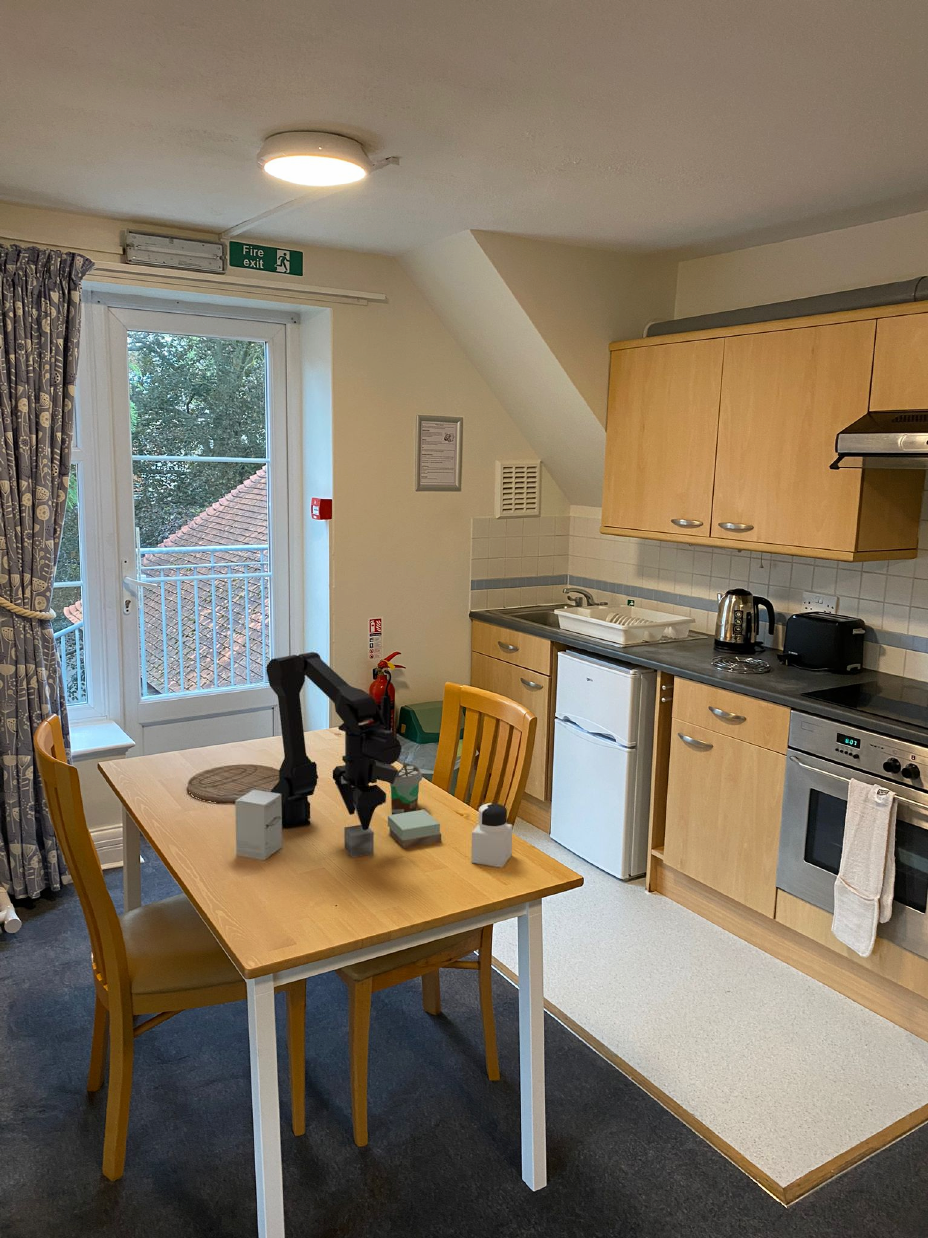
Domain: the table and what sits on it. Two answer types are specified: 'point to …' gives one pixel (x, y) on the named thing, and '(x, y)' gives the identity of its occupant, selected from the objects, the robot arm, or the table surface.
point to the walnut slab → (417, 840)
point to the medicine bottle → (492, 836)
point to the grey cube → (358, 841)
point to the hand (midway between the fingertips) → (358, 821)
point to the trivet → (232, 782)
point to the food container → (405, 789)
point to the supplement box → (258, 824)
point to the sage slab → (413, 825)
